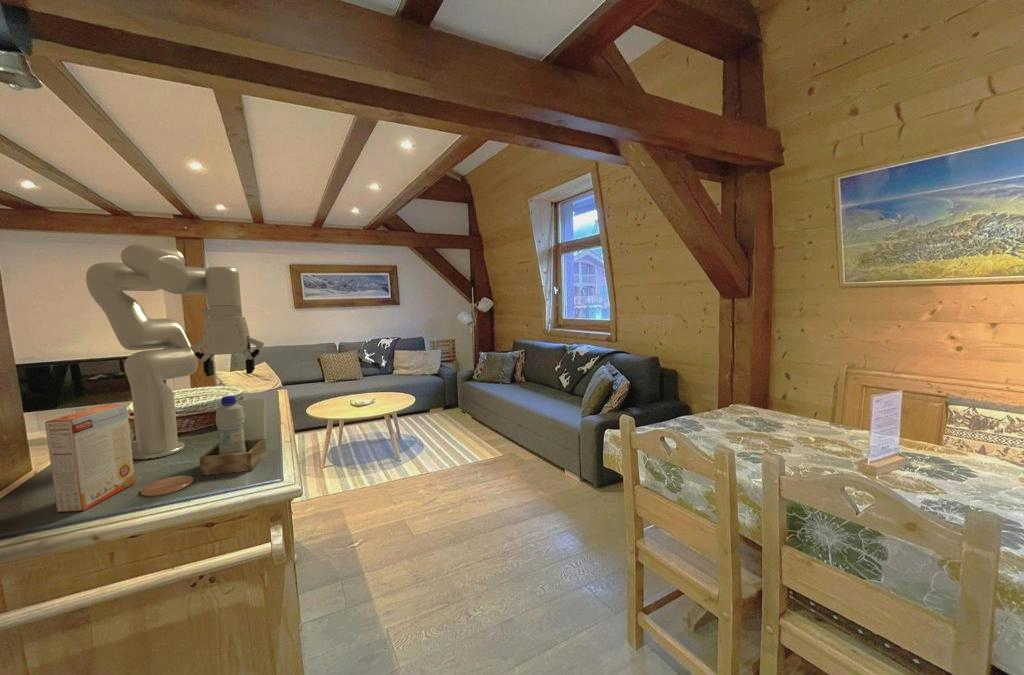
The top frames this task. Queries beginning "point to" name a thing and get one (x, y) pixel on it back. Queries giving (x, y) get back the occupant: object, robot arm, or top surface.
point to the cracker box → (90, 456)
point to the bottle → (230, 426)
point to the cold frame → (233, 459)
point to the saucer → (166, 485)
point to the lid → (253, 418)
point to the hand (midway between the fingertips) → (230, 374)
